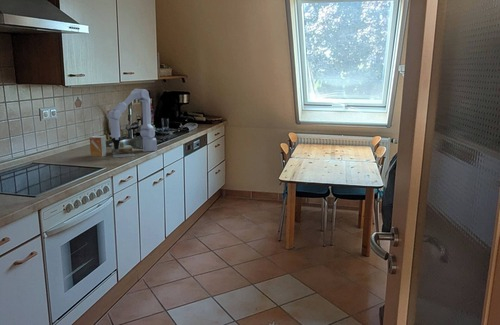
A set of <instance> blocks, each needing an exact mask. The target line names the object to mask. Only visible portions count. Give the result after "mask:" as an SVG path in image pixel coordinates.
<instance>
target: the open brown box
mask: <svg viewBox="0 0 500 325" xmlns="http://www.w3.org/2000/svg"><path fill="white" fill-rule="evenodd" d="M110 150H111V154H112V155H117V154H130V153H133V147H132V148H129V149H115V148H113V150H112V148H111V149H110Z"/></svg>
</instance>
